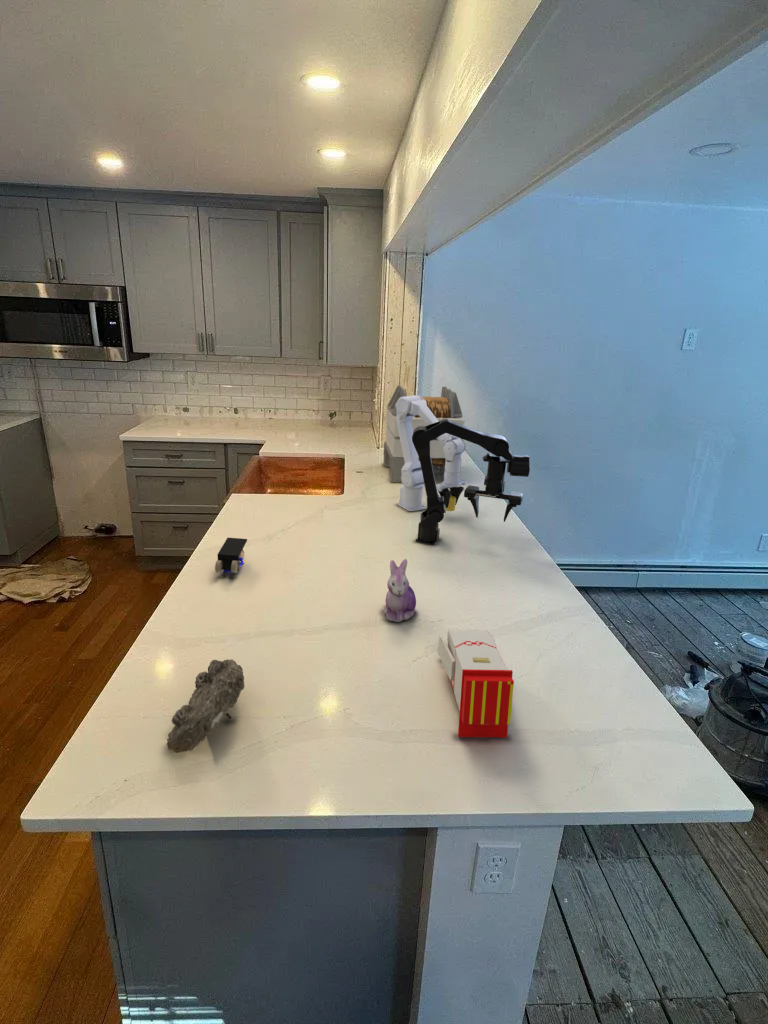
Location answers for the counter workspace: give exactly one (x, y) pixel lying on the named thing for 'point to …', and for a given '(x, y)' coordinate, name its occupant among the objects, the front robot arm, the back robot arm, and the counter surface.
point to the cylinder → (451, 504)
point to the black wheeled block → (230, 556)
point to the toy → (478, 682)
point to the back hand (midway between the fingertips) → (449, 505)
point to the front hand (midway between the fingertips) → (490, 519)
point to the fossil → (206, 705)
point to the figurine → (399, 594)
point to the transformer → (438, 406)
